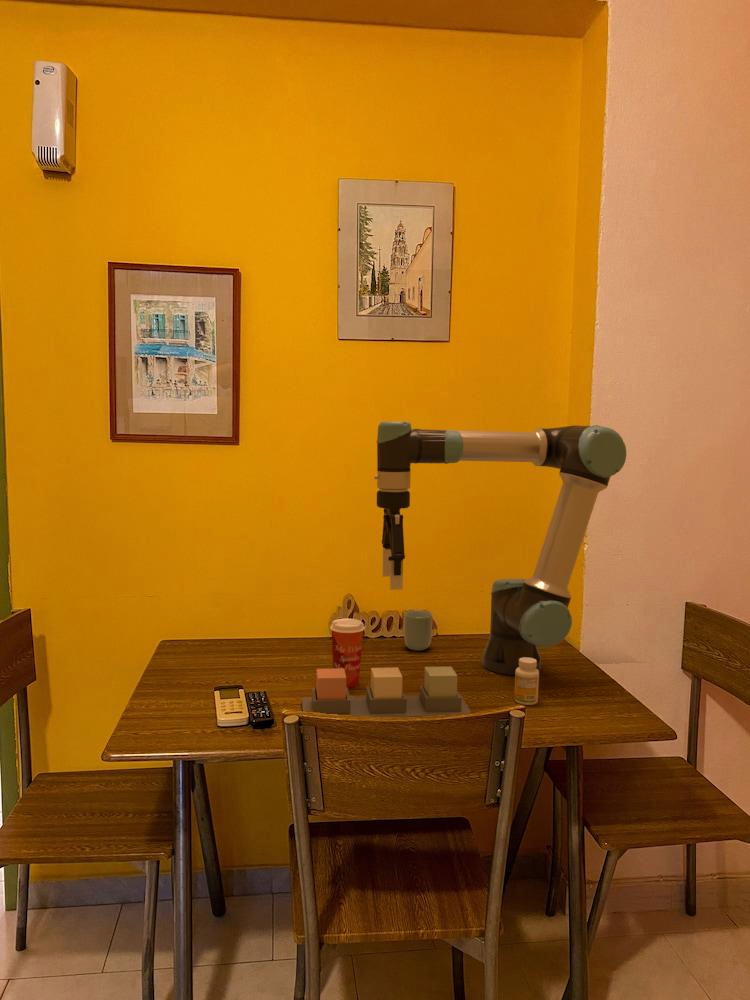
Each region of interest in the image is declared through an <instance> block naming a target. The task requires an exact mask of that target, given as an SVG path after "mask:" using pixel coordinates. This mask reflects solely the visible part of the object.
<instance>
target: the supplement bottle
mask: <svg viewBox="0 0 750 1000" xmlns="http://www.w3.org/2000/svg"><path fill="white" fill-rule="evenodd" d="M519 666H520V667H518V668H517V669H516V671H515V675H514V690H513V691H514V694H513V695H514V696H513V699H514V701H515V702H516V703H518V704H520V705H524V706H533V705H536V704H538V701H539V690H540V689H539V687H540V671H538V670H537V669H536V667H537V660H536V659H533V658H529V657H523V658H520V659H519Z"/></svg>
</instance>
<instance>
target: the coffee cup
mask: <svg viewBox="0 0 750 1000" xmlns="http://www.w3.org/2000/svg"><path fill="white" fill-rule="evenodd" d="M329 628H330V631H331V647H332V648H331V649H332V650H331V654H332V655H331V656H332V669H339V668H344V670H345V674H346V687H347V688H353V687H357V686H358V685H359V683H360V674H361V673H360V672H361V660H362V648H363V636H364V630H365V629H366V627H365V625H364V623H363V621H361V620H359V619H355V618H347V617H346V618H337V619H335V620H332V623H331V626H330V627H329Z"/></svg>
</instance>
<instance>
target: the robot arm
mask: <svg viewBox="0 0 750 1000" xmlns="http://www.w3.org/2000/svg"><path fill="white" fill-rule="evenodd" d="M377 426H378V427H377V437H376V439H377V440H376V444H377V445H376V447H377V448H376V451H377V455H376V459H377V463H376V466H377V468H376V473H377V474H376V475H374V478H373V479H374V480H376V487H377V489H378V490H377V492H376V507H377V508H379V509H383V517H382V519H383V522H382V524H383V525H382V535H381V536H382V538H381V544H382V577H390V578H389V589H390V590H393V591H394V590H395V591H396V590H398V591H399V590H403V589H404V585H403V584H404V560H405V558H406V555H405V539H404V536H405V535H404V514H401V509H407V508H410V506H411V492H410V491H409V490H410V488H411V473H412V472H411V464H445V465H448V464H455V463H459V462H461V461H462V462H500V463H501V462H506V463H511V462H513V463H531V464H533V465H534V466H535V467H546V468H555V469H559V472H558V475H559V477H560V479H561V481H562V485H561V486H560V487H561V488H560V489H559V490H560V491H559V494H558V496H557V500H556V503H555V507H554V508H553V512H552V516H551V519H550V521H549V525H548V527H547V531H546V534H545V537H544V539H543V543H542V546H541V549H540V553H539V555H538V559H537V562H536V565H535V568H534V570H533V573H532V575H531V576H530V577H529V578H500V579H496V580H494V581H493V582H492V585H491V586H492V587H491V592H490V595H491V597H490V598H491V599H490V629H489V630H490V631H489V637H488V639H487V643H486V646H485V649H484V650H483V652H482V658H481V659H482V660H481V661H482V662H481V665H482V666H483V668H485V669H487V670H488V671H491V672H493V673H497V674H501V675H510V676H515V671H516V669H517V668H518V667H520V666H519V659H520V658H523V657H529V658H533V659H536V660H537V667H536V669H537V670H538V671H539V672H540V671H541V669H542V658H541V655H540V652H539V647H540V648H550V647H553V646H555V645H557V644H560V643H561V642H562V641H563V640H564V639H566V638H567V636H568V635H569V633H570V630H571V629H572V625H573V624H572V622H573V618H572V615H571V612H570V610H569V606H570V603H571V599H572V595H571V593H570V591H569V588H568V587H569V584H570V581H571V578H572V575H573V572H574V569H575V565H576V563H577V560H578V556H579V553H580V550H581V547H582V543H583V542H584V538H585V535H586V531H587V529H588V525H589V522H590V519H591V516H592V513H593V511H594V506H595V504H596V501H597V499H598V498H597V497H598V496H599V493H600V492H602V491H604V490H605V489H607V488H608V486H609V482H610V479H611V477H613V476H615V475H616V474H617V473H619V472H620V471H621V470H622V469H623V467H624V465H625V463H626V459H627V447H626V444H625V442H624V440H623V437H622V436H621V434H620V433H618V432H617V431H616V430H615V429H613V428H610V427H607V426H603V425H602V426H601V425H599V424H598V425H597V424H596V425H568V426H559V427H553V428H552V427H550V428H536V429H534V430H533V431H499V430H497V431H493V430H492V431H491V430H461V429H460V430H459V429H457V430H454V429H453V430H452V429H421V428H412V424H411V423H410V421H392V420H390V421H388V420H387V421H385V420H384V421H381V422H379V424H378V425H377Z"/></svg>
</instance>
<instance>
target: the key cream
mask: <svg viewBox="0 0 750 1000" xmlns="http://www.w3.org/2000/svg"><path fill="white" fill-rule="evenodd" d="M370 687H371V692H372V696H373V699H383V698H402V690H403V675H402V673H401V671H400V669H399V667H371V668H370Z"/></svg>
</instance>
